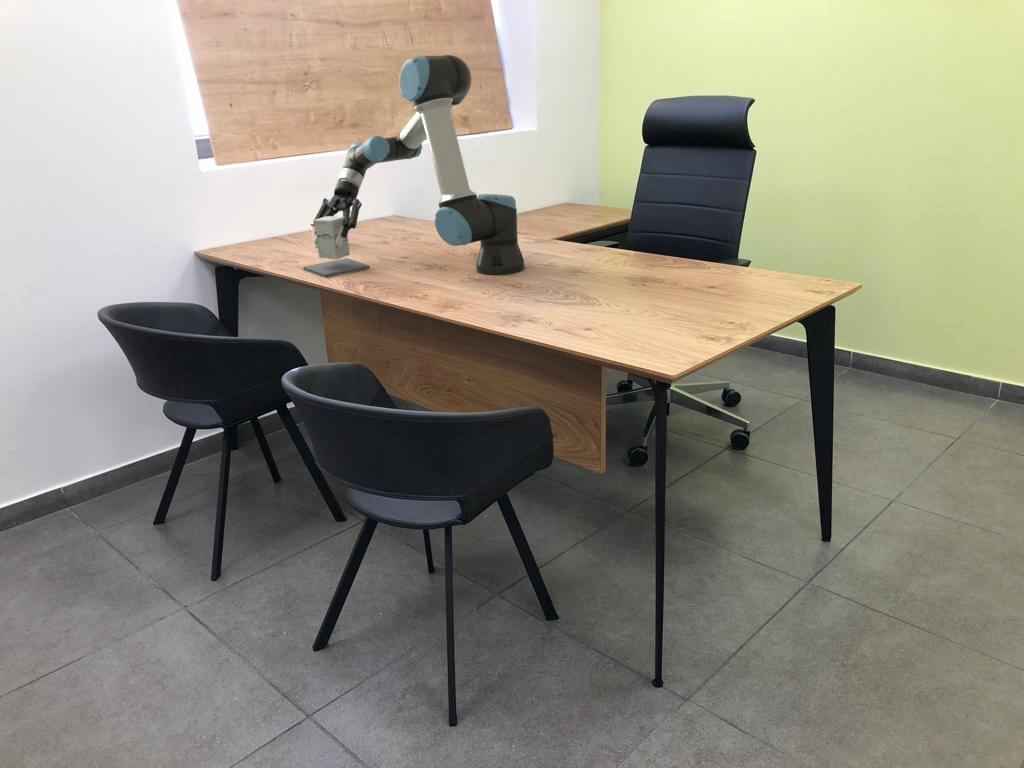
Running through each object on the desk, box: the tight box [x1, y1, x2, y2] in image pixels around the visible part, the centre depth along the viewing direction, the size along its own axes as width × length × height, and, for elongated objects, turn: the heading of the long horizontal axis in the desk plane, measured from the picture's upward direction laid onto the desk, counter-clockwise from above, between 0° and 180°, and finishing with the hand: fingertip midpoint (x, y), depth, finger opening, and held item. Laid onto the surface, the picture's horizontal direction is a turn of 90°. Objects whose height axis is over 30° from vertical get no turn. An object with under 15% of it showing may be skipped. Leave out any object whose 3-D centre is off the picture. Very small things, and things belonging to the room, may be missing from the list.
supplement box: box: [313, 215, 351, 260], centre depth 262 cm, size 7×7×13 cm
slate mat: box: [302, 257, 370, 278], centre depth 266 cm, size 16×16×1 cm
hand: (326, 244), depth 260 cm, fingers closed on supplement box, 8 cm apart
